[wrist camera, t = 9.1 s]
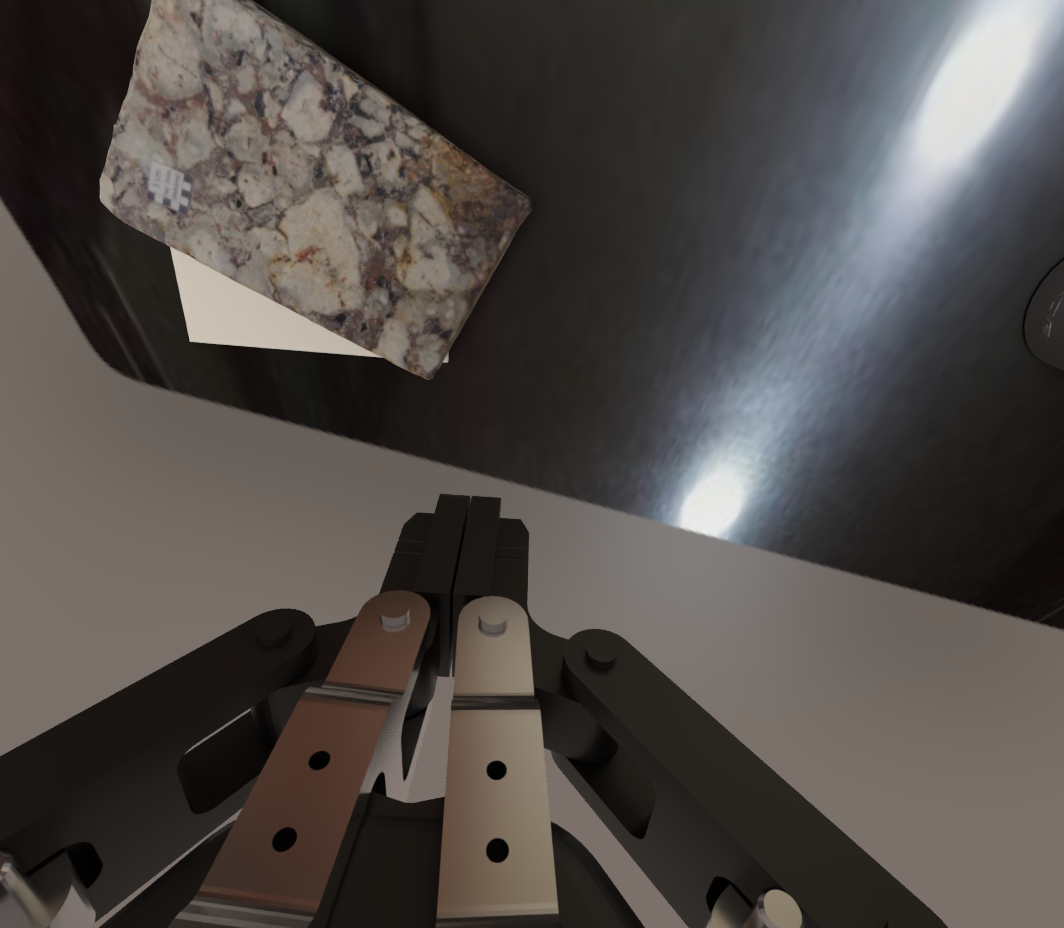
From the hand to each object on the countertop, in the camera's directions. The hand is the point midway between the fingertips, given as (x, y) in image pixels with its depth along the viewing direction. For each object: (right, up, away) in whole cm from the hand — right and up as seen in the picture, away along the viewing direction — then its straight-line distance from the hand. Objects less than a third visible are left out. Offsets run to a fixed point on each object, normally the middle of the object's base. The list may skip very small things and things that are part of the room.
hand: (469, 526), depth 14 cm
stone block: (-2, +12, +22) cm, 25 cm away
